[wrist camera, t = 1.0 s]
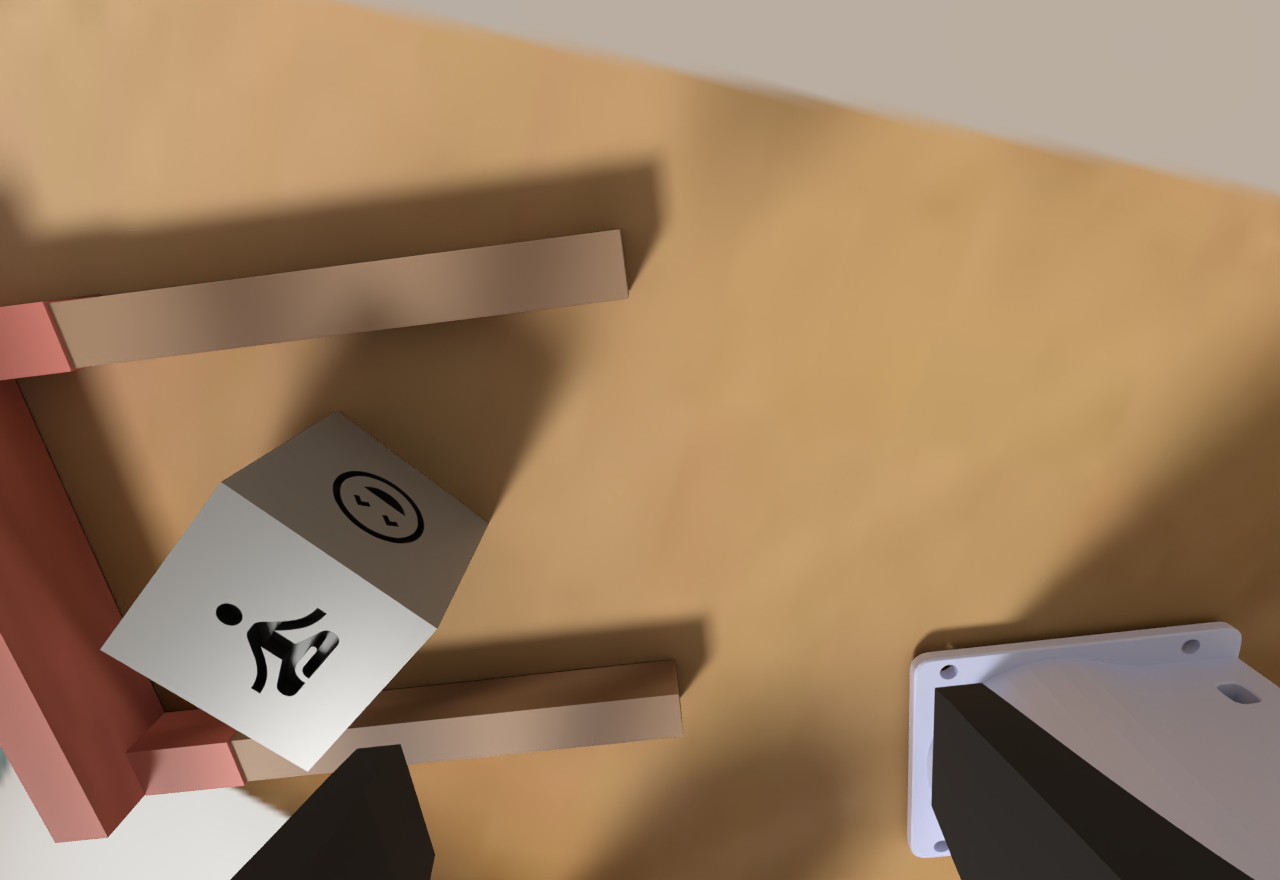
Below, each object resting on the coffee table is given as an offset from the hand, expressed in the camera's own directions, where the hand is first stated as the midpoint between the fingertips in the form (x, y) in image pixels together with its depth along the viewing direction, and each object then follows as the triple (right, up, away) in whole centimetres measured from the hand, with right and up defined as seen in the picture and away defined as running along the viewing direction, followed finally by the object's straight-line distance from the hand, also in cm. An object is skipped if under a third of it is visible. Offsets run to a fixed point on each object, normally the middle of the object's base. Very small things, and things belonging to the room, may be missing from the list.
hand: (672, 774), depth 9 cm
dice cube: (-8, +2, +9) cm, 13 cm away
